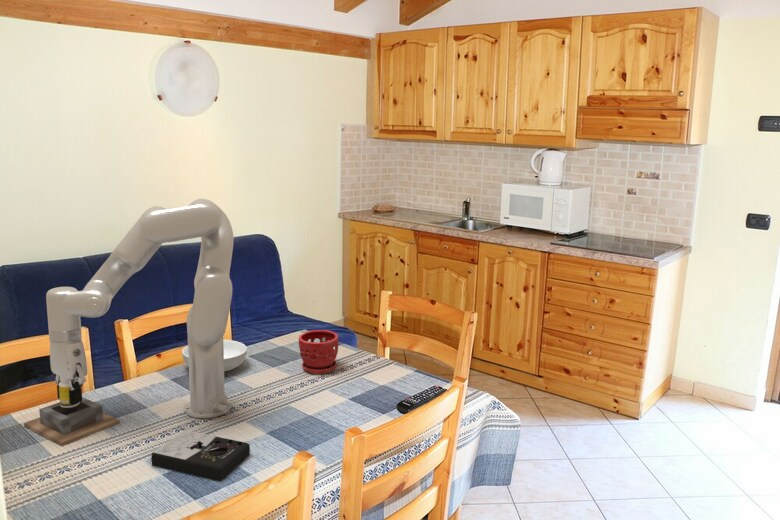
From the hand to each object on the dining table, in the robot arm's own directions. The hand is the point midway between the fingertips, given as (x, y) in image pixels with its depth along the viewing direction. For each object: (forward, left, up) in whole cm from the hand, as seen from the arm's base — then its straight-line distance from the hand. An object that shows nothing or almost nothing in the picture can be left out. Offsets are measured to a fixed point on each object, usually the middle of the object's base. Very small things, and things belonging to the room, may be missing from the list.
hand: (70, 399), depth 169 cm
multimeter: (-42, -8, -8) cm, 44 cm away
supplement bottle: (0, 0, -2) cm, 2 cm away
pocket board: (0, 0, -7) cm, 7 cm away
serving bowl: (+2, -51, -8) cm, 52 cm away
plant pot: (-26, -71, -7) cm, 76 cm away
